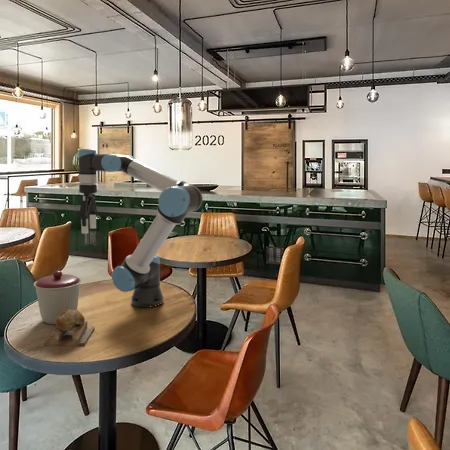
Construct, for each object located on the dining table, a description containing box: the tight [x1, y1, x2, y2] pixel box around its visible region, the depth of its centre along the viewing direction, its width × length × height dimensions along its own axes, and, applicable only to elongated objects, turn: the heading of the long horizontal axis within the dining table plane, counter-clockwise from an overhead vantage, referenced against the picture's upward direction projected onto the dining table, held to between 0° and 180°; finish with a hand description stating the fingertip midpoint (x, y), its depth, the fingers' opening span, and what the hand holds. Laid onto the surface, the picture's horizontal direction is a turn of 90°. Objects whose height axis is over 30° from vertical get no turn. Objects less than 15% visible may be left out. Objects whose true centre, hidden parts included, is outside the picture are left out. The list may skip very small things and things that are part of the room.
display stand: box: [44, 319, 96, 347], centre depth 147 cm, size 14×14×4 cm
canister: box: [33, 270, 82, 325], centre depth 162 cm, size 18×18×21 cm
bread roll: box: [55, 309, 86, 331], centre depth 146 cm, size 10×10×8 cm
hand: (89, 230), depth 177 cm, fingers open, 13 cm apart
